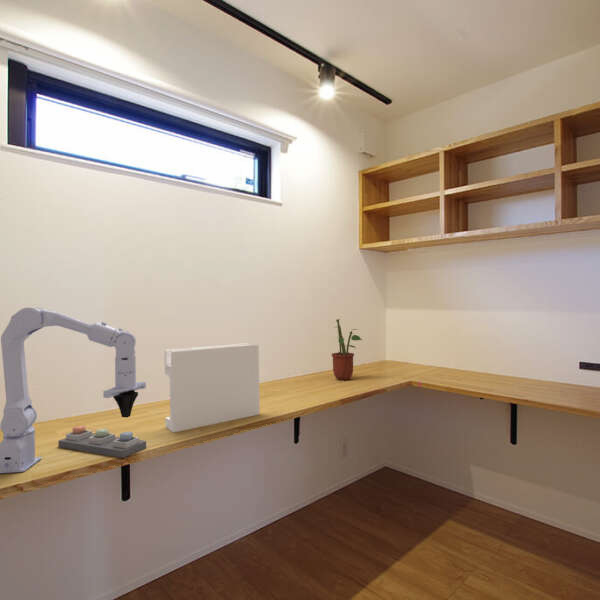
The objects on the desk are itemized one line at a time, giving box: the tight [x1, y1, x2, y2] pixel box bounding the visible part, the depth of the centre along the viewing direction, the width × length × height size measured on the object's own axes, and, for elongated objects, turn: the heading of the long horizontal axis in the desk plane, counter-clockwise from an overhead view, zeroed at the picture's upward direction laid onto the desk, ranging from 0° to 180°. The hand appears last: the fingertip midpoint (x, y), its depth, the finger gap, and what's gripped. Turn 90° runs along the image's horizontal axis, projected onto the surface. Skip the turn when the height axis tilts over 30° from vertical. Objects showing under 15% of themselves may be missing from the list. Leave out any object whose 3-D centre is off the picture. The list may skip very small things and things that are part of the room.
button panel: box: [57, 429, 147, 459], centre depth 124 cm, size 27×9×4 cm, turn 68°
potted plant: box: [331, 318, 363, 381], centre depth 232 cm, size 17×16×35 cm
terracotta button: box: [72, 425, 86, 434], centre depth 127 cm, size 4×4×2 cm
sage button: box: [94, 427, 109, 437], centre depth 124 cm, size 4×4×2 cm
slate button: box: [119, 431, 134, 441], centre depth 120 cm, size 4×4×2 cm
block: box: [164, 343, 261, 433], centre depth 151 cm, size 35×8×28 cm, turn 127°
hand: (126, 416), depth 120 cm, fingers closed
